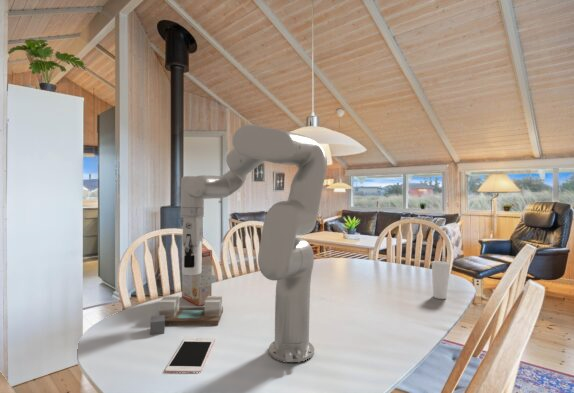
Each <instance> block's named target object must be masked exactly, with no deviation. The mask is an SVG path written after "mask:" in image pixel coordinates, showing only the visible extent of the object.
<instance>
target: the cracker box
mask: <svg viewBox="0 0 574 393" xmlns="http://www.w3.org/2000/svg"><path fill="white" fill-rule="evenodd" d="M212 267H213V250H212V249H209V248H206V247H202V269H201V273H200V274H199V275H196V276H185V275H183V274H182V273H181V276H182V277H181V298H183V299H185V300H187V301H189V302H190V303H192V304H194V305H195V306H205V300H206V299H207V297H208V296H212V289H213V288H212V286H213V285H212V283H213V281H212V280H213V278H212V277H213V275H212V274H213V268H212Z"/></svg>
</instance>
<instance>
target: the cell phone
mask: <svg viewBox="0 0 574 393" xmlns="http://www.w3.org/2000/svg"><path fill="white" fill-rule="evenodd" d="M215 342H216V338H215V337H190V336H188V337H184V339H183V341H182V342H181V344H179V347H178V348H177V350H176V352H175V353H174V354H173V356H172V357H171V360H169V363H168V364H167V366H166V367H165V369H164V373H166V372H171V374H175V373H176V372H178V373H176V374H183V373H182V372H186V373H185V374H188V373H187V372H192V373H191V374H200V373H202V372H203V369H204V366H205V364H206V362H207V360H208V357H209V354H210V352H211V350H212V349H213V345H214V343H215ZM206 359H207V360H206ZM202 368H203V369H202ZM173 372H175V373H173ZM179 372H181V373H179ZM193 372H195V373H193ZM196 372H198V373H196ZM199 372H200V373H199Z"/></svg>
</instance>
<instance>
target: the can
mask: <svg viewBox="0 0 574 393" xmlns="http://www.w3.org/2000/svg"><path fill="white" fill-rule="evenodd" d="M184 245H185V244H184ZM190 246H193V244H190ZM202 248H203V242H201V241H200V244H199V246H198V247H195V246H194V267H193V268H185V267H184V253H185V247H184V246H183V242H182V244H181V275H182V274H183V275H185V276H196V275H199V274H200V273H201V269H202ZM190 249H191V251H192V248H190Z"/></svg>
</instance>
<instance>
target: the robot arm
mask: <svg viewBox="0 0 574 393" xmlns="http://www.w3.org/2000/svg"><path fill="white" fill-rule="evenodd" d="M232 147H233V149H232V150H230V151H229V152H228V153H227V155H226V158H225V160H226V164H227V167H228V168H229V170H228V171H227V172H225V173H224V174H223V175H205V174H203V175H195V176H194V175H187V176H182V178H181V180H180V217H181V218H183V219H182V221H183V223H182V243H183V246H184V247H185V253H184V267H185V268H193V267H194V246H195V247H198V246H199V244H200V241H201V242H202V243H203V239H204V238H203V236H204V235H203V220H202V218H203V217H205V216H204V214H205V213H204V212H205V211H204V210H205V206H204V205H205V200H208V199H223V198H228V197H229V196H231V195H233V194H234V193H236V192H237V191H238V190H239V189H240V188H241V187H243V185H244V184H245V181H246V180H247V175H248V174H249V173H251V172H253V171H254V170H255V169H256V168H257V167H259V166H260V165H261V164H263V163H265V162H267V163H268V162H269V163H271V164H272V163H273V164H276V165H286V166H295V167H297V171H296V172H295V174H294V175H293V178H292V181H291V184H290V188H289V189H290V190H289V193H288V197H287V198H288V199H287V200H282V201H278V202H276V203H274V204H273V205H272V206H271V207H270V208H269V209H268V210H267V212H266V214H265V216H264V220H263V225H262V230H261V237H260V241H259V246H258V247H259V248H258V249H259V250H258V254H257V263H258V264H257V265H258V268H259V271H260V273H261V274H262V276H263V277H265V278H266V279H267V280H270V281H276V283H275V285H276V286H275V299H274V300H275V301H274V302H275V303H274V304H275V305H274V310H275V311H274V341H272V342H271V343H270V344H269V346H268V354H269V355H270V356H271V357H272V358H273V359H275V360H276V359H277V361H279V360H280V361H279V362H282V361H285V362H284V363H287V362H298V363H301V362H300V361H303V362H306V361H308V360H310V359H311V358H312V357H314V355H315V347H314V345H313V344H312V343H311V342H310V302H311V301H310V299H311V282H312V281H311V280H312V273H313V268H314V263H315V261H314V260H315V255H314V250H313V248H312V246H311V244H310V243H309V242H308V241H307V240H305V239H303V238H299V237H301V236H305V235H308V234H309V233H312V232H313V231H314V229H315V227H316V225H317V222H318V221H317V219H318V216H319V210H320V204H321V199H322V194H323V189H324V184H325V179H326V175H327V169H328V158H327V155H326V152H325V150H324V148H323V147H322V146H321V145H320V144H319V143H318V142H317V141H316V140H315V139H312V138H311V137H309V136H306V135H304V134H303V135H302V134H300V133H296V132H295V133H294V132H291V131H287V130H284V129H276V128H270V127H264V126H259V125H255V124H248V123H247V124H244V125H241V126H239V127H238V129H236V131H235V132H234V133H233V136H232ZM184 244H185V245H184ZM190 244H193V246H190ZM190 248H192V251H191V249H190ZM309 358H310V359H309ZM307 359H308V360H307ZM305 360H306V361H305Z"/></svg>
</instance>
